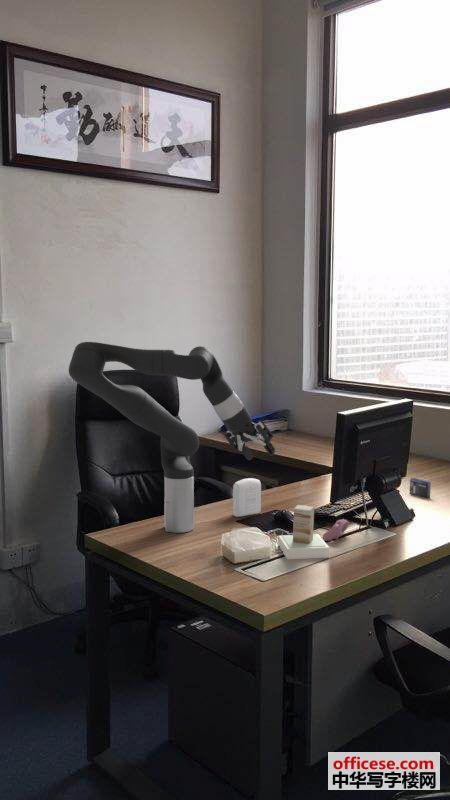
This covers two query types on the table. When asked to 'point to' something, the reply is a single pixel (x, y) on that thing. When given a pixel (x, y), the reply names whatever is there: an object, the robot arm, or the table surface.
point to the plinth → (303, 548)
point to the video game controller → (336, 530)
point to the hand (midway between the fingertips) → (262, 456)
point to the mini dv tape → (420, 487)
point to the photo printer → (246, 497)
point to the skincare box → (303, 524)
